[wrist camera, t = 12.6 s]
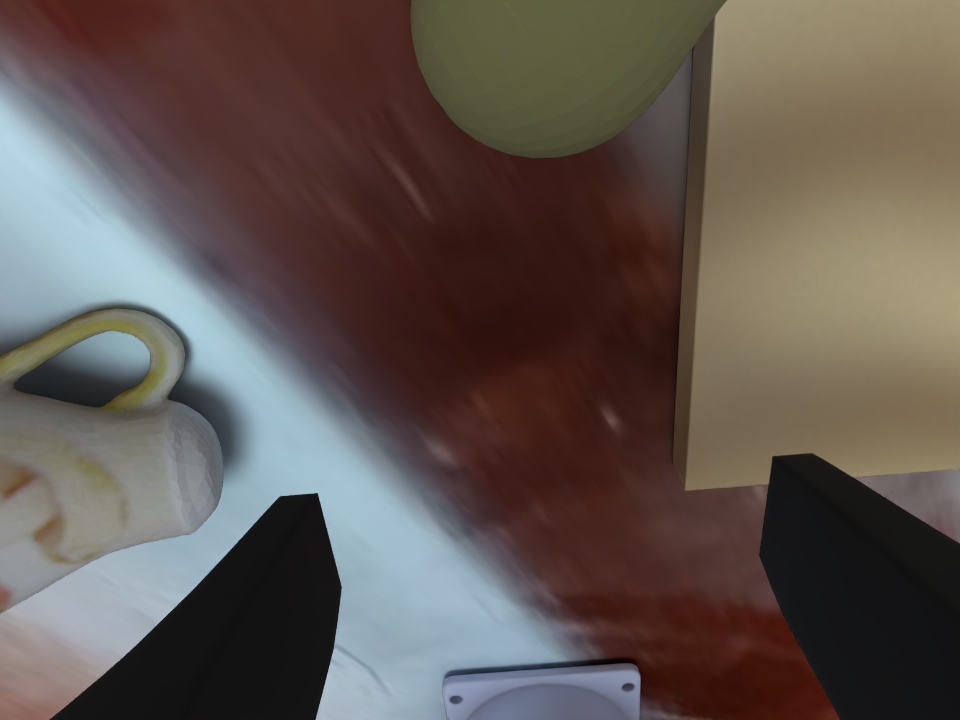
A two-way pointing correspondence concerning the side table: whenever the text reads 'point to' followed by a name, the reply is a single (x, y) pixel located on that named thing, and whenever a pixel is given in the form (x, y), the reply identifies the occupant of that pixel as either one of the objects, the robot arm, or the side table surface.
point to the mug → (98, 461)
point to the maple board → (821, 241)
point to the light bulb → (552, 65)
